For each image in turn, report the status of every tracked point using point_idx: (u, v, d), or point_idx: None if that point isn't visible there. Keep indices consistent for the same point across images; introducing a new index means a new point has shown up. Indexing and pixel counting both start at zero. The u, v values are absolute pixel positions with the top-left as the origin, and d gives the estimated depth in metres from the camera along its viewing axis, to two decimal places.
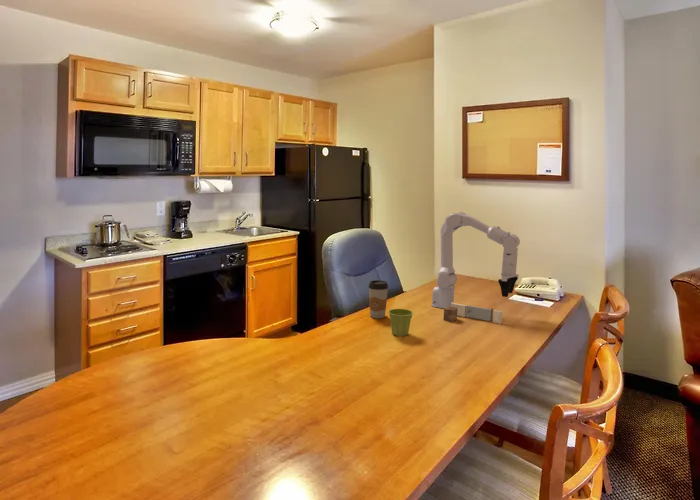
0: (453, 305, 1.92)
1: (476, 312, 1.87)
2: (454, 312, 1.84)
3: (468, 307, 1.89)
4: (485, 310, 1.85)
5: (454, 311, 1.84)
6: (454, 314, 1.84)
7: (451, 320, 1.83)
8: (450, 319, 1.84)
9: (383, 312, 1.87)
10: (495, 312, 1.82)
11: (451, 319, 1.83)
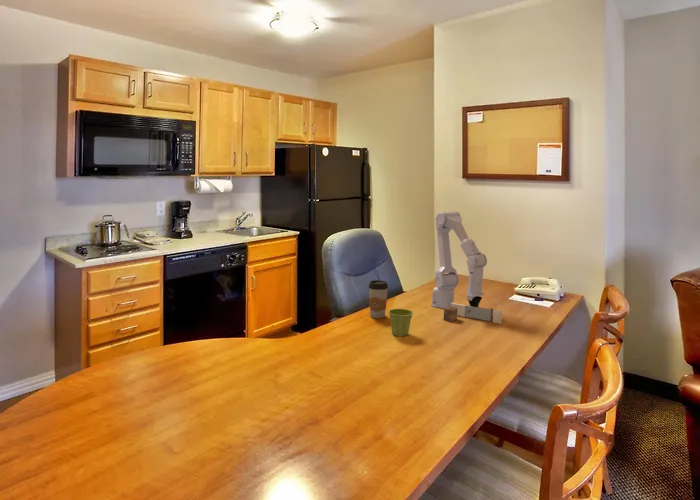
0: (453, 305, 1.92)
1: (476, 312, 1.87)
2: (454, 312, 1.84)
3: (468, 307, 1.88)
4: (485, 310, 1.85)
5: (454, 311, 1.84)
6: (454, 314, 1.84)
7: (451, 320, 1.83)
8: (450, 319, 1.84)
9: (383, 312, 1.87)
10: (495, 312, 1.82)
11: (451, 319, 1.83)
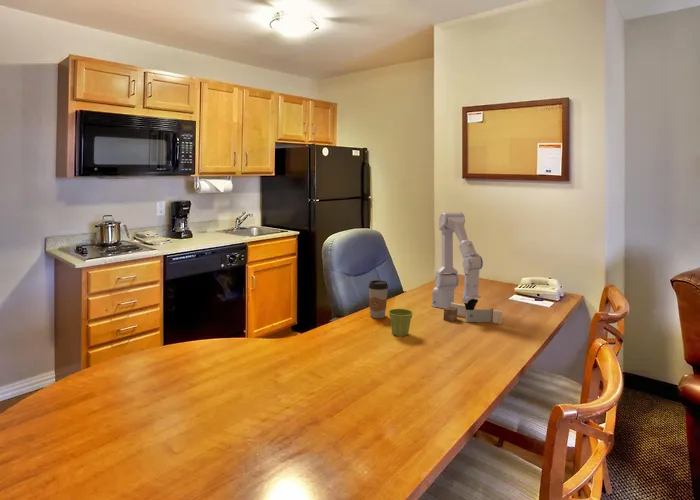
0: (453, 305, 1.92)
1: (477, 315, 1.83)
2: (454, 312, 1.84)
3: (469, 311, 1.82)
4: (486, 311, 1.83)
5: (454, 311, 1.84)
6: (454, 314, 1.84)
7: (451, 320, 1.83)
8: (450, 319, 1.84)
9: (383, 312, 1.87)
10: (495, 312, 1.82)
11: (451, 319, 1.83)
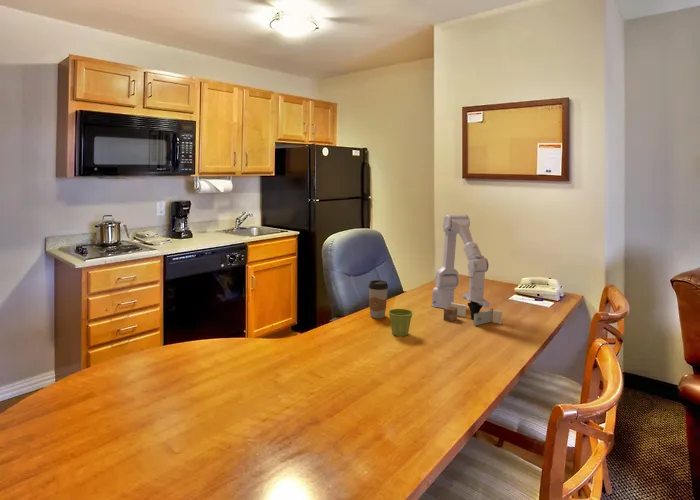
0: (453, 305, 1.92)
1: (483, 317, 1.80)
2: (454, 312, 1.84)
3: (477, 315, 1.78)
4: (489, 312, 1.82)
5: (454, 311, 1.84)
6: (454, 314, 1.84)
7: (451, 320, 1.83)
8: (450, 319, 1.84)
9: (383, 312, 1.87)
10: (495, 312, 1.82)
11: (451, 319, 1.83)
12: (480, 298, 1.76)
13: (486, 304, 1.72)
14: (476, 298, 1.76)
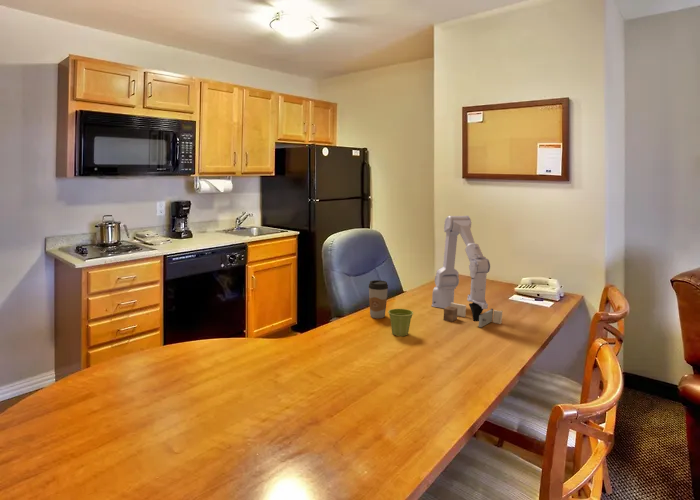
0: (453, 305, 1.92)
1: (486, 318, 1.79)
2: (454, 312, 1.84)
3: (482, 316, 1.76)
4: (490, 312, 1.82)
5: (454, 311, 1.84)
6: (454, 314, 1.84)
7: (451, 320, 1.83)
8: (450, 319, 1.84)
9: (383, 312, 1.87)
10: (495, 312, 1.82)
11: (451, 319, 1.83)
12: (480, 299, 1.74)
13: (484, 305, 1.70)
14: (476, 299, 1.75)
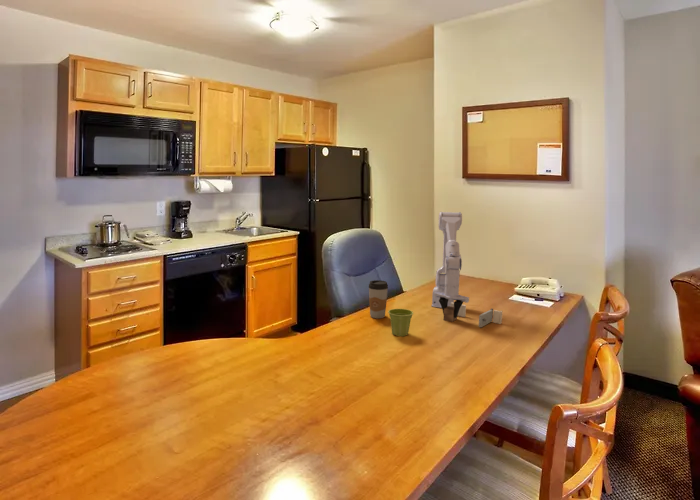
0: (453, 305, 1.92)
1: (486, 318, 1.79)
2: None
3: (482, 316, 1.76)
4: (490, 312, 1.82)
5: None
6: None
7: (451, 320, 1.83)
8: (450, 319, 1.84)
9: (383, 312, 1.87)
10: (495, 312, 1.82)
11: (451, 319, 1.83)
12: None
13: (467, 299, 1.80)
14: (455, 295, 1.82)
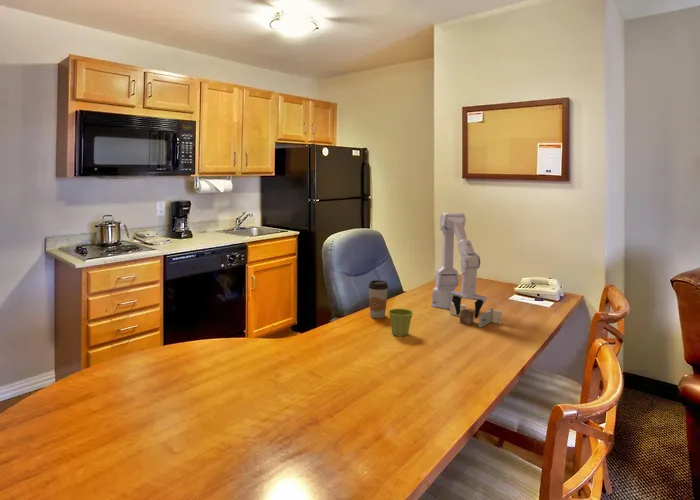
0: (453, 305, 1.92)
1: (486, 318, 1.79)
2: (471, 315, 1.81)
3: (482, 316, 1.76)
4: (490, 312, 1.82)
5: (471, 314, 1.80)
6: (471, 317, 1.81)
7: (468, 323, 1.80)
8: (467, 322, 1.80)
9: (383, 312, 1.87)
10: (495, 312, 1.82)
11: (468, 322, 1.80)
12: (475, 294, 1.80)
13: (485, 298, 1.77)
14: (472, 294, 1.78)
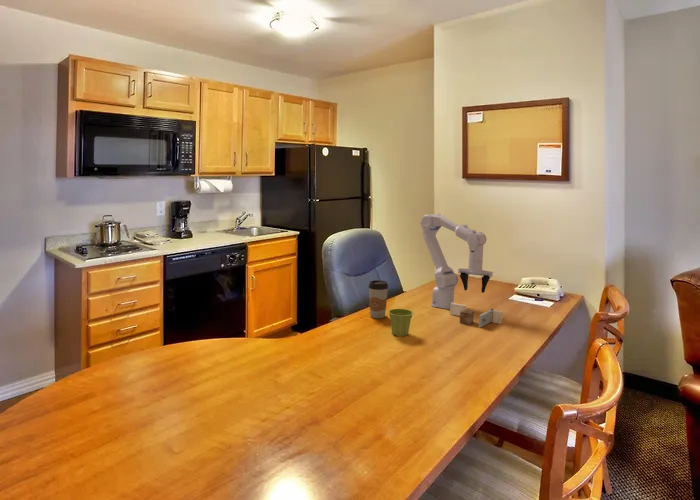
0: (453, 305, 1.92)
1: (486, 318, 1.79)
2: (471, 315, 1.81)
3: (482, 316, 1.76)
4: (490, 312, 1.82)
5: (471, 314, 1.80)
6: (471, 317, 1.81)
7: (468, 323, 1.80)
8: (467, 322, 1.80)
9: (383, 312, 1.87)
10: (495, 312, 1.82)
11: (468, 322, 1.80)
12: (481, 269, 1.90)
13: (491, 273, 1.87)
14: (479, 270, 1.89)
